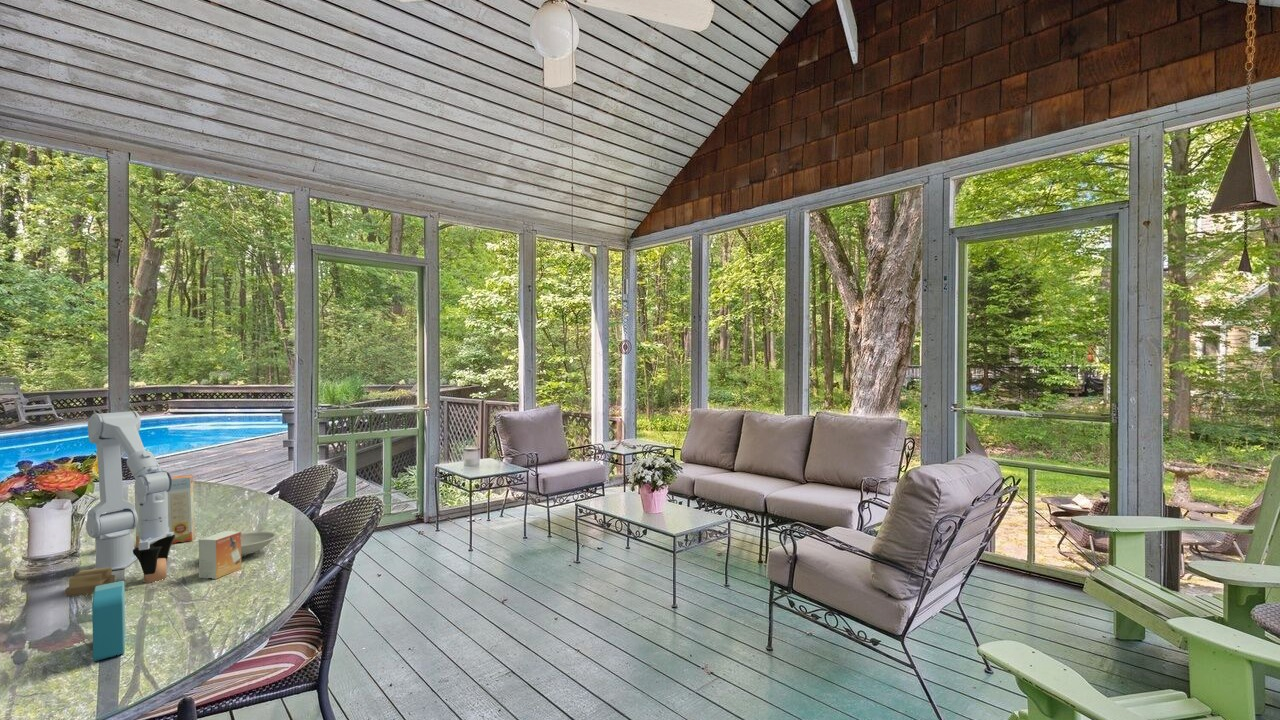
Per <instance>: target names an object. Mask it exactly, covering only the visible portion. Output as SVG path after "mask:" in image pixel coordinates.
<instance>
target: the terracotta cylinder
mask: <svg viewBox="0 0 1280 720" xmlns="http://www.w3.org/2000/svg"><path fill="white" fill-rule="evenodd" d="M166 577H168V575H167V561H166V558H158V559H157V566H156V571H155V573H154V574H147V575H144V574H143V583H144V582H145V584H152V583H151V582H154V583H156V582H155V581H159V580H162V579H164V580H166V579H167V578H166ZM165 578H166V579H165ZM162 581H163V580H162ZM159 582H160V581H159Z"/></svg>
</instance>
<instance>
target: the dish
mask: <svg viewBox="0 0 1280 720" xmlns="http://www.w3.org/2000/svg"><path fill="white" fill-rule="evenodd" d="M277 537H278V533H277V532H273V531H252V532H244V533H241V558H243V556H244V557H246V556H247V555H250V554H254V553H255V552H259V551H261V550H262V549H264V548H265V547H267V546H268V545H270V543H271V542H272V541H273V540H274V539H276V538H277Z"/></svg>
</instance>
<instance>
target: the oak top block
mask: <svg viewBox="0 0 1280 720" xmlns="http://www.w3.org/2000/svg"><path fill="white" fill-rule="evenodd" d="M111 575H112V570H111V567H107V568H98V569H93V568H91V569H83V570H80V571H78V572H77V573H76V574H73V576H71V577H69V578H68V582H69V583H68V584H69V585H68V587H69V588H75V587H83V586H91V585H100V584H101V583H103V582H104V581H105V580H107V579H108V578H110V577H111Z"/></svg>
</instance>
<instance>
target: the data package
mask: <svg viewBox="0 0 1280 720" xmlns="http://www.w3.org/2000/svg"><path fill="white" fill-rule="evenodd" d="M125 586H126V585H125V580H119V581H115V582H114V583H109V584H104V585H99V586H96V587H95V590H94V593H93V597H92V603H91V604H92V606H91V613H92V616H91V617H92V622H91V623H92V660H93V661H94V662H98V661H101V660H106V659H109V657H110V658H114V657H116V655H117V656H120V654H121V655H124V654H125V652H126V596H125V594H126V593H125Z"/></svg>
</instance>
